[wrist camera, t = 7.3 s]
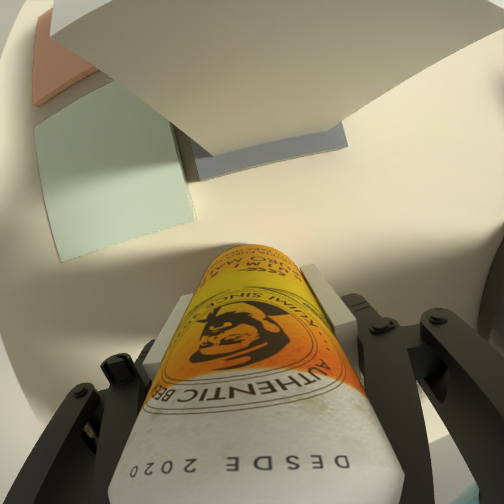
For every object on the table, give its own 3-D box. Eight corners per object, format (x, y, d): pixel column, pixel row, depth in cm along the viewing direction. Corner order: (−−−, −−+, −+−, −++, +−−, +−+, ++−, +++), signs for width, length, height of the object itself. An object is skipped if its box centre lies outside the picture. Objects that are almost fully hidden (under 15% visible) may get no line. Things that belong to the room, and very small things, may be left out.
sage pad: (196, 219, 16) (194, 220, 15) (67, 259, 16) (61, 262, 15) (160, 67, 13) (156, 62, 13) (40, 129, 14) (33, 127, 13)
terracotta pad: (155, 44, 13) (152, 39, 12) (38, 106, 14) (32, 104, 13) (143, -34, 11) (140, -39, 10) (42, 20, 11) (38, 17, 11)
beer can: (290, 229, 16) (477, 464, 1) (310, 321, 17) (399, 551, 3) (189, 256, 16) (23, 491, 2) (220, 343, 18) (183, 577, 3)
